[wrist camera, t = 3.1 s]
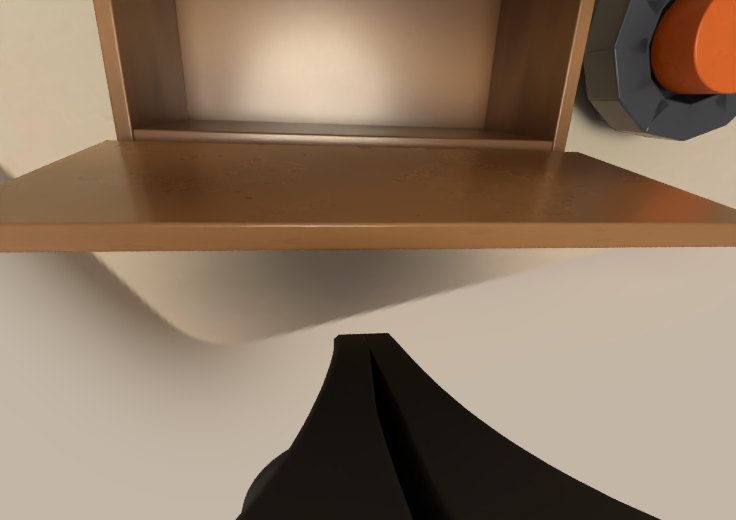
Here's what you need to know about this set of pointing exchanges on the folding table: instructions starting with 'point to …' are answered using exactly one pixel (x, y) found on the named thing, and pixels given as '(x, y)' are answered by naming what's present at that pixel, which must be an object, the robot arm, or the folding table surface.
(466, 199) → the flap
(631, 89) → the control box
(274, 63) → the carton
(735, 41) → the button
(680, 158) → the folding table surface
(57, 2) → the folding table surface
